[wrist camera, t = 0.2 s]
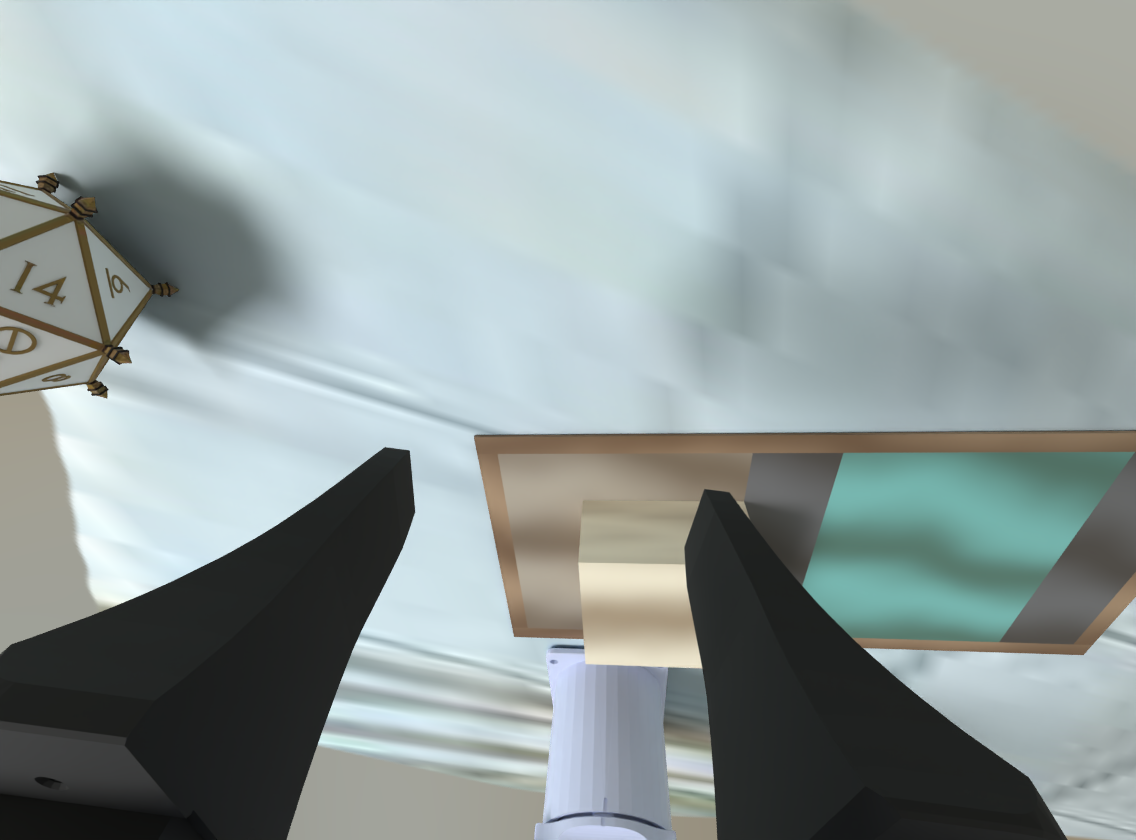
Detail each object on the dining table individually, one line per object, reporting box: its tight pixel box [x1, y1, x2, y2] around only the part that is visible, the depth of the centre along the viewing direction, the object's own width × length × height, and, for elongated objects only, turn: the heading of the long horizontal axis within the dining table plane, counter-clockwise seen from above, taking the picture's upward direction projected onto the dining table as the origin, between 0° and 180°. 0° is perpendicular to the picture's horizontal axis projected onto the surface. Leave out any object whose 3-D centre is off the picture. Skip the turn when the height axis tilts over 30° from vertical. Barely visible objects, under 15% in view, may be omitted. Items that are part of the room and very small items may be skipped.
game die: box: [0, 173, 179, 398], centre depth 17 cm, size 9×8×10 cm
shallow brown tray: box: [474, 431, 1136, 655], centre depth 26 cm, size 16×34×1 cm, turn 93°
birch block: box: [578, 501, 749, 668], centre depth 25 cm, size 8×8×4 cm
